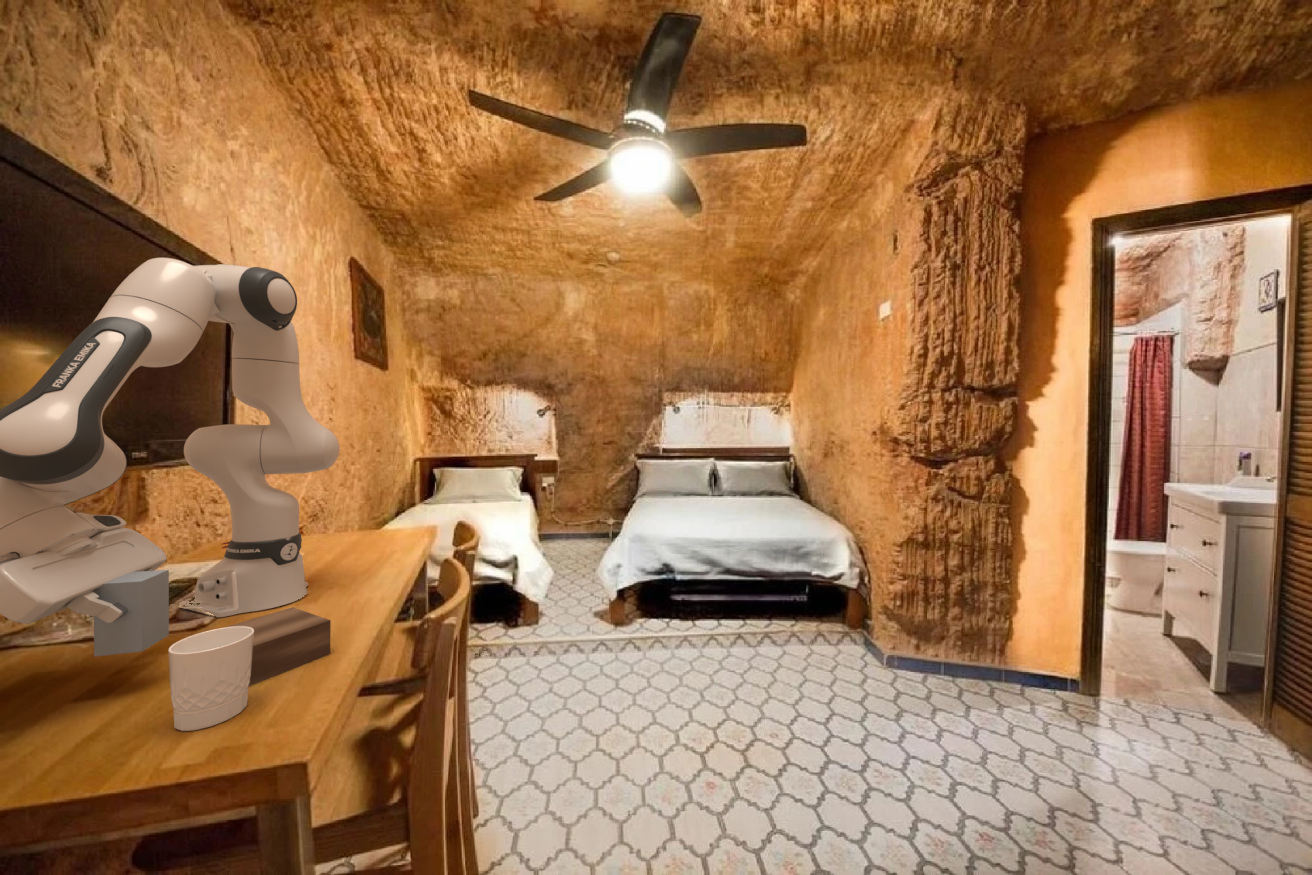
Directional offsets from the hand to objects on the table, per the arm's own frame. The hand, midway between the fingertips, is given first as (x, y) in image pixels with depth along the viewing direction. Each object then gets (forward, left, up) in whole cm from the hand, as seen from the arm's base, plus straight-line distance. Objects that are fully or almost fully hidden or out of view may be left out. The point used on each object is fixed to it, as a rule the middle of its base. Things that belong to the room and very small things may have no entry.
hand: (139, 607), depth 63 cm
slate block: (-1, 0, -5) cm, 5 cm away
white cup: (+17, -3, -12) cm, 21 cm away
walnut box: (+11, +9, -12) cm, 19 cm away
